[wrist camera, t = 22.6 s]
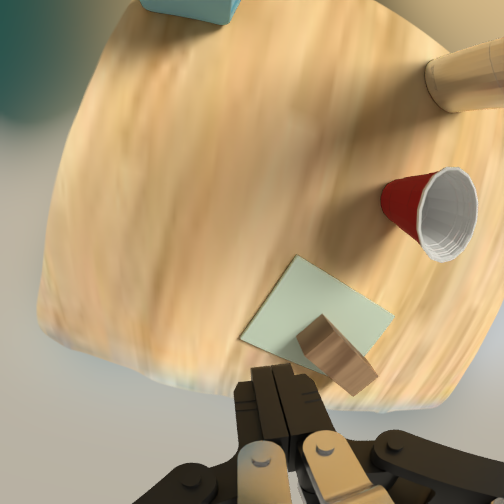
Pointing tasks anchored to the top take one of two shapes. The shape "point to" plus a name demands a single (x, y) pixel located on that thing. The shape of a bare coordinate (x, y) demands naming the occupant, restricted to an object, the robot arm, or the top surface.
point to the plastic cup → (434, 210)
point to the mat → (313, 313)
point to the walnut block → (335, 355)
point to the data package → (195, 9)
